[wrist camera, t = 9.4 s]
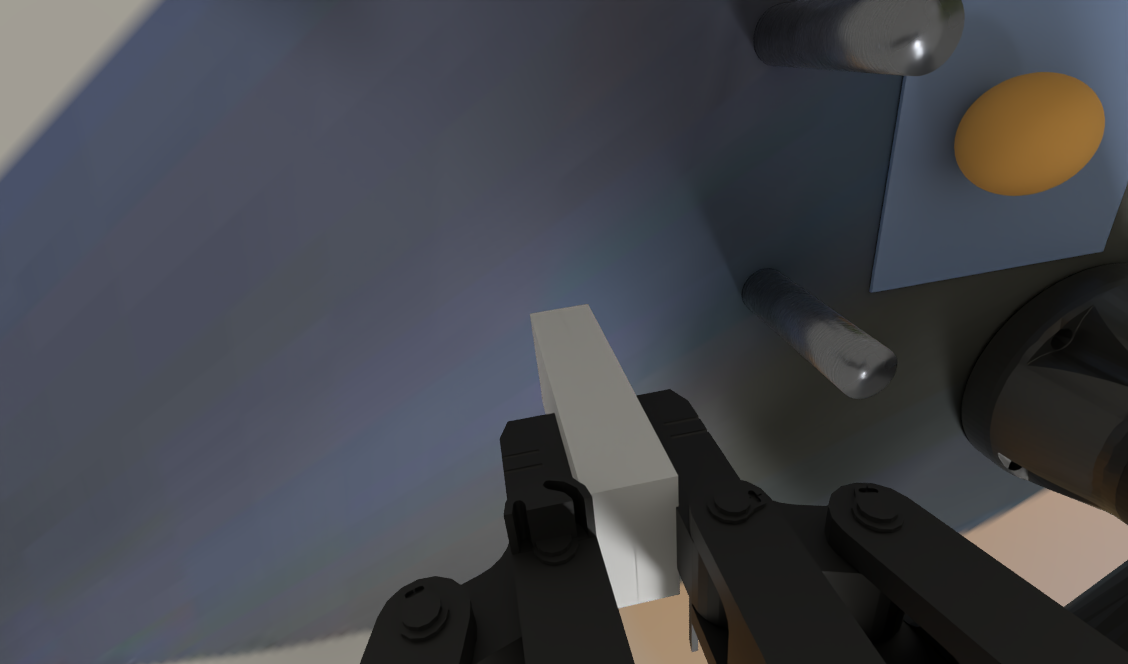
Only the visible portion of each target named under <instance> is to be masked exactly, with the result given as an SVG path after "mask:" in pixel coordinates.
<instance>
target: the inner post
mask: <svg viewBox="0 0 1128 664" xmlns="http://www.w3.org/2000/svg"><path fill="white" fill-rule="evenodd" d="M742 298H743V302H744V304H745V305H746V306H747V307H748V308H749V309H750V310H751V311H753V312H754V313H755V314H756V315H757V316H758V317H759V318H760V319H761V320H763V321H764V322H765V323H766V324H767V325H768V326H769V327H770V328H772V329H773V330H774V331H775V332H776V333H777V334H778V335H779V336H781V337H782V338H783V339H784V340H785V341H786V342H787V343H788V344H790V345H791V346H792V347H793V348H794V349H795V350H796V351H797V352H799V353H800V354H801V355H802V356H803V357H804V358H805V359H806V360H807V361H809V362H810V363H811V364H812V365H813V366H814V367H815V368H816V369H818V370H819V371H820V372H821V373H822V374H823V375H824V376H825V377H827V378H828V379H829V380H830V381H831V382H832V383H833V384H834V385H836V386H837V387H838V388H839V389H840V390H841V391H842V392H843V393H845V394H846V395H847V396H848V397H851V398H854V399H863V398H868V397H870V396H873V395H875V394H877V393H878V392H880V391H881V390H882V389H884V388H885V387H886V386H887V385H888V384H889V382H890V381H891V380H892V378H893V376H894V374H895V372H896V368H897V359H896V356H895V354H894V353H893V352H892V351H891V350H890V349H889V348H887V347H886V346H884V345H883V344H882V343H880V342H879V341H877V340H876V339H874V338H873V337H871V336H870V335H869V334H867V333H866V332H864V331H863V330H861V329H860V328H859V327H857V326H856V325H854V324H853V323H851V322H850V321H849V320H847V319H846V318H844V317H843V316H841V315H840V314H839V313H837V312H836V311H834V310H833V309H831V308H830V307H829V306H827V305H826V304H824V303H823V302H821V301H820V300H819V299H817V298H816V297H814V296H813V295H811V294H810V293H809V292H807V291H806V290H804V289H803V288H801V287H800V286H798V285H797V284H796V283H794V282H793V281H791V280H790V279H788V278H787V277H786V276H784V275H783V274H781V273H780V272H778V271H777V270H774V269H763V270H760V271H758V272H756V273H754V274H753V275H752V276H751V277H750V278H749V279H748V280H747V281H746V283H745V285H744V287H743V291H742Z"/></svg>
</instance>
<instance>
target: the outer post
mask: <svg viewBox="0 0 1128 664" xmlns="http://www.w3.org/2000/svg"><path fill="white" fill-rule="evenodd" d="M964 22H965V13H964V6H963V3H962V0H807V1H799V2H790V3H782V4H778V5H775V6H773V7H771V8H770V9H768V10H767V11H766V12H765V13H764V14H763V16H762V17H761V18H760V20H759V22H758V24H757V26H756V29H755V34H754V47H755V51H756V53H757V55H758V57H759V58H760V60H762V61H763V62H764V63H765V64H767V65H770V66H780V67H793V68H807V69H821V70H835V71H848V72H862V73H876V74H890V75H904V76H922V75H926V74H929V73H931V72H933V71H935V70H936V69H938V68H939V67H940V66H941V65H943V64H944V63H945V62H946V61H947V60H948V59H949V57H950V56H951V55H952V53H953V52H954V50H955V49H956V47H957V45H958V43H959V41H960V38H961V36H962V32H963V28H964Z"/></svg>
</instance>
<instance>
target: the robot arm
mask: <svg viewBox="0 0 1128 664" xmlns="http://www.w3.org/2000/svg"><path fill="white" fill-rule="evenodd" d="M530 318H531V324H532V331H533V338H534V345H535V352H536V358H537V365H538V372H539V379H540V386H541V393H542V399H543V405H544V409H545V413H546V415H540V416H535V417H530V418H525V419H519V420H514V421H509V422H507V424H506V427H505V429H504V431H503V433H502V435H501V437H500V445H501V453H502V461H503V469H504V477H505V485H506V493H507V501H506V503H505V510H504V519H505V524H506V529H507V534H508V539H509V544H508V547H507V549H506V551H505V552H504V554H503V555H502V557H501V558H500V559H499V560H498V561H497V562H496V563H495V564H494V565H493V566H492V567H491V568H490V569H488V570H487V571H485V572H484V573H482V574H481V575H479V576H477V577H475V578H473V579H471V580H469V581H467V582H466V583H464V584H462V585H460V584H458V583H457V582H455V581H454V580H452V579H449V578H443V577H437V576H434V577H429V578H423V579H418V580H416V581H414V582H412V583H410V584H408V585H406V586H404V587H402V588H401V589H400V590H399V591H398V592H397V593H395V594H394V595H393V596H392V597H391V598H390V599H389V600H388V601H387V602H386V604H385V606H384V607H383V609H382V611H381V612H380V614H379V616H378V617H377V620H376V623H375V625H374V628H373V631H372V633H371V636H370V638H369V641H368V644H367V646H366V649H365V652H364V654H363V657H362V659H361V663H360V664H635V663H634V660H633V657H632V653H631V650H630V647H629V643H628V640H627V637H626V634H625V630H624V626H623V623H622V620H621V616H620V613H619V610H618V608H621V607H626V606H630V605H634V604H639V603H643V602H648V601H652V600H656V599H660V598H665V597H669V596H674V595H678V594H680V576H681V579H682V581H683V583H684V586H685V588H686V590H687V593H688V595H689V640H690V646H691V651H692V652H694V651H697V650H698V640H699V642H700V645H701V647H702V650H703V652H704V655H705V657H706V659H707V662H708V664H1128V561H1126V562H1124V563H1123V564H1122V565H1120V566H1119V567H1118V568H1116V569H1115V570H1113V571H1112V572H1111V573H1109V574H1108V575H1107V576H1105V577H1104V578H1103V579H1101V580H1100V581H1098V582H1097V583H1096V584H1095V585H1093V586H1092V587H1091V588H1089V589H1088V590H1086V591H1085V592H1084V593H1082V594H1081V595H1079V596H1078V597H1077V598H1075V599H1074V600H1073V601H1071V602H1070V603H1069V604H1067V605H1066V606H1065V607H1063V606H1061V605H1060V604H1058V603H1057V602H1055V601H1054V600H1052V599H1051V598H1050V597H1048V596H1047V595H1045V594H1044V593H1043V592H1041V591H1040V590H1038V589H1037V588H1036V587H1034V586H1033V585H1031V584H1030V583H1029V582H1027V581H1026V580H1024V579H1023V578H1021V577H1020V576H1018V575H1017V574H1015V573H1014V572H1013V571H1011V570H1010V569H1009V568H1007V567H1006V566H1004V565H1003V564H1002V563H1000V562H999V561H997V560H996V559H994V558H993V557H992V556H990V555H989V554H987V553H986V552H984V551H983V550H982V549H980V548H979V547H977V546H976V545H975V544H973V543H972V542H970V541H969V540H967V539H966V538H965V537H963V536H962V535H960V534H959V533H957V532H956V531H955V530H953V529H952V528H950V527H949V526H948V525H946V524H945V523H943V522H942V521H940V520H939V519H938V518H936V517H935V516H933V515H932V514H931V513H929V512H928V511H926V510H925V509H923V508H922V507H921V506H919V505H918V504H916V503H915V502H913V501H912V500H911V499H909V498H908V497H906V496H904V495H902V494H900V493H898V492H897V491H895V490H893V489H891V488H887V487H884V486H880V485H876V484H872V483H853V484H849V485H845V486H841V487H840V488H839V489H837V490H836V491H835V492H834V493H832V494H831V497H830V501H829V504H828V506H811V505H793V504H785V503H779V502H776V501H772V499H771V498H770V497H769V496H768V495H767V494H766V493H765V492H764V491H763V490H762V489H761V488H759V487H757V486H755V485H753V484H751V483H749V482H747V481H743V480H740V478H739V477H738V475H737V474H736V472H735V471H734V469H733V468H732V466H731V465H730V463H729V462H728V460H727V459H726V457H725V456H724V454H723V453H722V451H721V450H720V448H719V447H718V445H717V444H716V442H715V441H714V439H713V438H712V436H711V435H710V433H709V432H707V429H706V427H705V426H704V424H703V423H702V421H701V420H700V419H699V418H698V415H697V413H696V412H695V410H694V409H693V407H692V406H691V404H690V403H689V401H688V400H686V399H685V398H683V397H681V396H680V395H678V394H677V393H675V392H674V391H672V390H670V389H668V390H663V391H658V392H653V393H647V394H642V395H637V396H636V394H635V393H634V391H633V389H632V387H631V385H630V383H629V381H628V379H627V377H626V375H625V374H624V372H623V370H622V368H621V366H620V364H619V362H618V360H617V358H616V356H615V354H614V353H613V351H612V349H611V347H610V345H609V343H608V341H607V339H606V337H605V335H604V333H603V332H602V330H601V328H600V326H599V324H598V322H597V320H596V318H595V316H594V314H593V313H592V311H591V309H590V307H589V305H588V304H585V305H579V306H573V307H567V308H561V309H555V310H549V311H544V312H538V313H532V314H530ZM962 424H963V428H964V431H965V434H966V436H967V438H968V440H969V441H970V443H971V444H972V445H973V446H974V447H975V448H976V449H977V450H978V451H980V452H981V453H982V454H983V455H985V456H986V457H987V458H989V459H990V460H991V461H993V462H994V463H995V464H996V465H998V466H999V467H1000V468H1002V469H1003V470H1005V471H1007V472H1008V473H1010V474H1012V475H1014V476H1017V477H1019V478H1022V479H1024V480H1028V481H1031V482H1033V483H1035V484H1037V485H1040V486H1042V487H1045V488H1047V489H1050V490H1052V491H1055V492H1057V493H1060V494H1062V495H1065V496H1068V497H1070V498H1073V499H1075V500H1078V501H1080V502H1083V503H1085V504H1088V505H1090V506H1093V507H1095V508H1098V509H1101V510H1103V511H1106V512H1108V513H1110V514H1112V515H1114V516H1115V517H1117V518H1118V519H1120V520H1121V521H1123V522H1124V523H1126V524H1127V525H1128V264H1126V263H1119V264H1109V265H1103V266H1098V267H1095V268H1091V269H1088V270H1085V271H1082V272H1079V273H1077V274H1075V275H1072V276H1070V277H1068V278H1066V279H1064V280H1062V281H1060V282H1058V283H1056V284H1055V285H1053V286H1051V287H1050V288H1048V289H1046V290H1045V291H1043V292H1042V293H1040V294H1039V295H1038V296H1036V297H1035V298H1034V299H1032V300H1031V301H1030V302H1028V303H1027V304H1026V305H1025V306H1023V307H1022V308H1021V309H1020V310H1019V311H1018V312H1017V313H1016V314H1014V315H1013V316H1012V317H1011V318H1010V319H1009V320H1008V321H1007V322H1006V323H1005V324H1004V326H1003V327H1002V328H1001V329H1000V330H999V331H998V332H997V334H996V335H995V336H994V337H993V338H992V340H991V341H990V342H989V344H988V345H987V347H986V348H985V350H984V351H983V353H982V354H981V356H980V357H979V359H978V361H977V363H976V365H975V366H974V368H973V370H972V373H971V375H970V377H969V380H968V382H967V385H966V388H965V392H964V396H963V402H962ZM679 574H680V575H679Z"/></svg>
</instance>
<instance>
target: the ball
mask: <svg viewBox="0 0 1128 664" xmlns="http://www.w3.org/2000/svg"><path fill="white" fill-rule="evenodd" d="M1104 129H1105V115H1104V109H1103V106H1102V103H1101V101H1100V100H1099V98H1098V96H1097V95H1096V93H1095V92H1094V91H1093V90H1092V89H1091V88H1090V87H1089V86H1088V85H1086V84H1085V83H1084V82H1082V81H1080V80H1078V79H1077V78H1074V77H1071V76H1068V75H1065V74H1061V73H1055V72H1035V73H1029V74H1024V75H1019V76H1016V77H1013V78H1010V79H1008V80H1006V81H1003V82H1001V83H999V84H998V85H996V86H994V87H992V88H991V89H989V90H988V91H986V92H985V93H984V94H983V95H981V96H980V97H979V98H978V99H977V100H976V101H975V102H974V103H973V104H972V105H971V106H970V107H969V109H968V110H967V111H966V113H965V114H964V116H963V118H962V119H961V121H960V123H959V126H958V128H957V131H956V135H955V142H954V150H955V157H956V161H957V164H958V166H959V168H960V170H961V171H962V173H963V174H964V176H965V177H966V178H967V179H968V180H969V181H971V182H972V183H973V184H974V185H976V186H977V187H979V188H981V189H983V190H985V191H988V192H991V193H994V194H999V195H1006V196H1022V195H1030V194H1035V193H1039V192H1043V191H1045V190H1048V189H1051V188H1053V187H1055V186H1058V185H1060V184H1062V183H1063V182H1065V181H1067V180H1068V179H1070V178H1071V177H1073V176H1074V175H1075V174H1077V173H1078V172H1079V171H1080V170H1081V169H1082V168H1083V167H1084V166H1085V165H1086V164H1087V163H1088V162H1089V161H1090V159H1091V158H1092V157H1093V155H1094V154H1095V152H1096V151H1097V149H1098V147H1099V145H1100V143H1101V140H1102V137H1103V134H1104Z"/></svg>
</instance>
